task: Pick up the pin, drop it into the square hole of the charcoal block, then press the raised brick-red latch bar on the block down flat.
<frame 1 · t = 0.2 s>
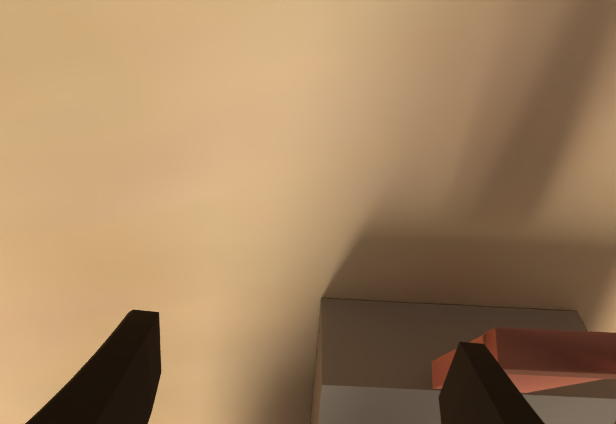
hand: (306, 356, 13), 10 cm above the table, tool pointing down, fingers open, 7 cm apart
latch bar: (513, 366, 18), point 7 cm above the table, hinge at 35.0°
pin block: (427, 390, 29), on the table
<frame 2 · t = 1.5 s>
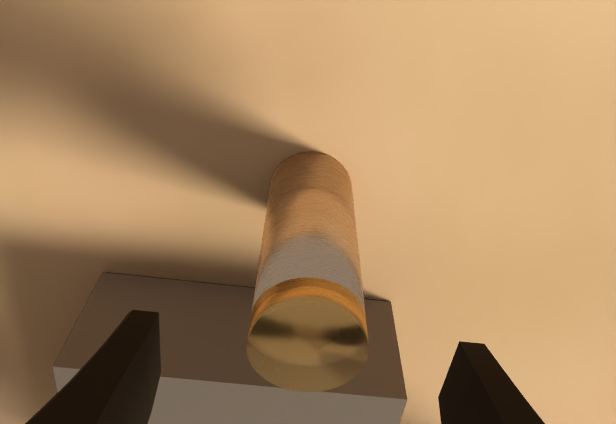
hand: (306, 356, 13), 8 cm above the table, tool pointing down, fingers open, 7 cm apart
pin block: (240, 384, 26), on the table
pin: (310, 188, 20), on the table
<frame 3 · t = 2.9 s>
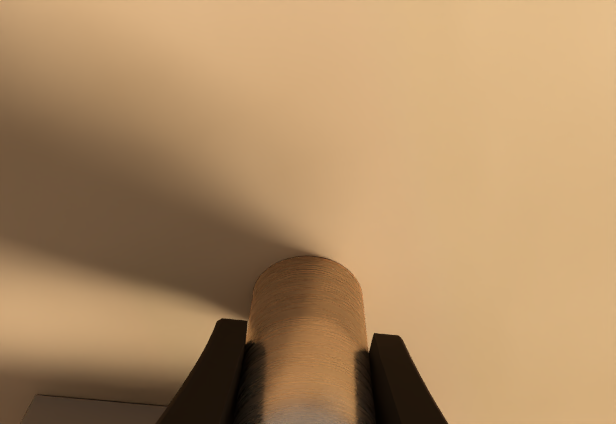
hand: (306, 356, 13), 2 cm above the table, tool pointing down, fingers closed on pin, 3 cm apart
pin: (307, 300, 15), on the table, touching gripper
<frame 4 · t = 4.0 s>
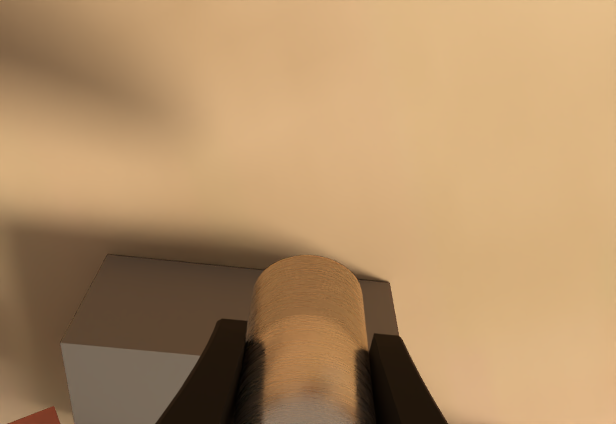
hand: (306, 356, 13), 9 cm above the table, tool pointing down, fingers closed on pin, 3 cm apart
pin block: (243, 365, 26), on the table
pin: (307, 299, 15), point 7 cm above the table, touching gripper
when the fingers open (6 cm above the table, at t = 5.6 s): pin drops 3 cm, resting on pin block.
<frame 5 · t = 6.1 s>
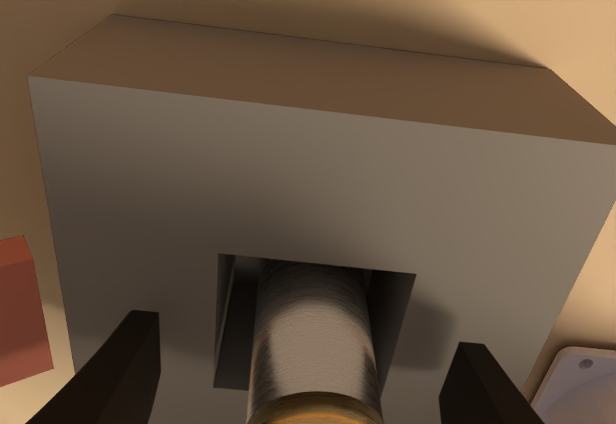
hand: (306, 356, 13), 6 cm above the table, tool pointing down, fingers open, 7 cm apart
pin block: (309, 225, 18), on the table
pin: (309, 233, 17), point 1 cm above the table, touching pin block
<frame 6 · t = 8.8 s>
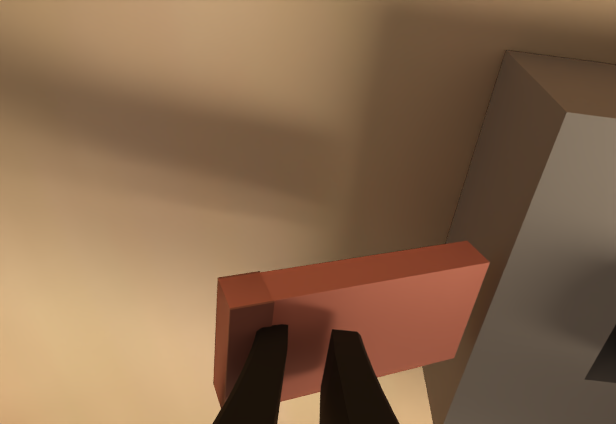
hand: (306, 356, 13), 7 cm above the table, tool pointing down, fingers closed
latch bar: (351, 323, 14), point 6 cm above the table, hinge at 23.7°, touching gripper
pin block: (615, 235, 20), on the table
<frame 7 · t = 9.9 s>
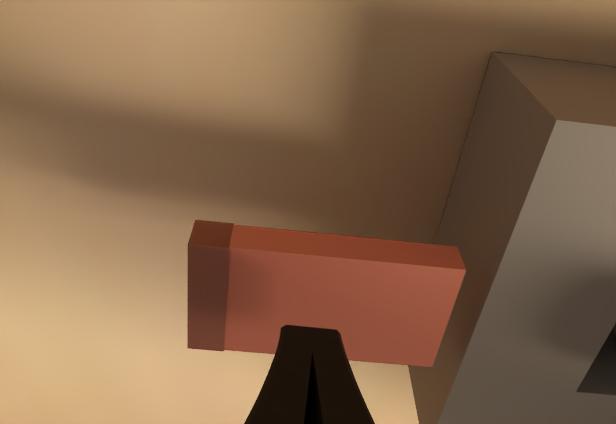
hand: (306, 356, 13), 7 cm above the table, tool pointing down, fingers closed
latch bar: (319, 297, 15), point 5 cm above the table, hinge at 0.6°
pin block: (606, 240, 19), on the table
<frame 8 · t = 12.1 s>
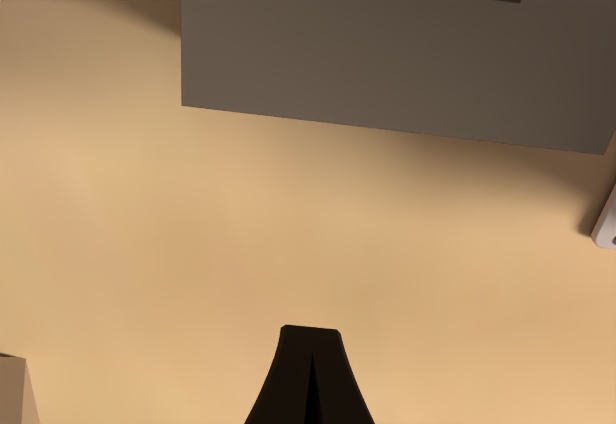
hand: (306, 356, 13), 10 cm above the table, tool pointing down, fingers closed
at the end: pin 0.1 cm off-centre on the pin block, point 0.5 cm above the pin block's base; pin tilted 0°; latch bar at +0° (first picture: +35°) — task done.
